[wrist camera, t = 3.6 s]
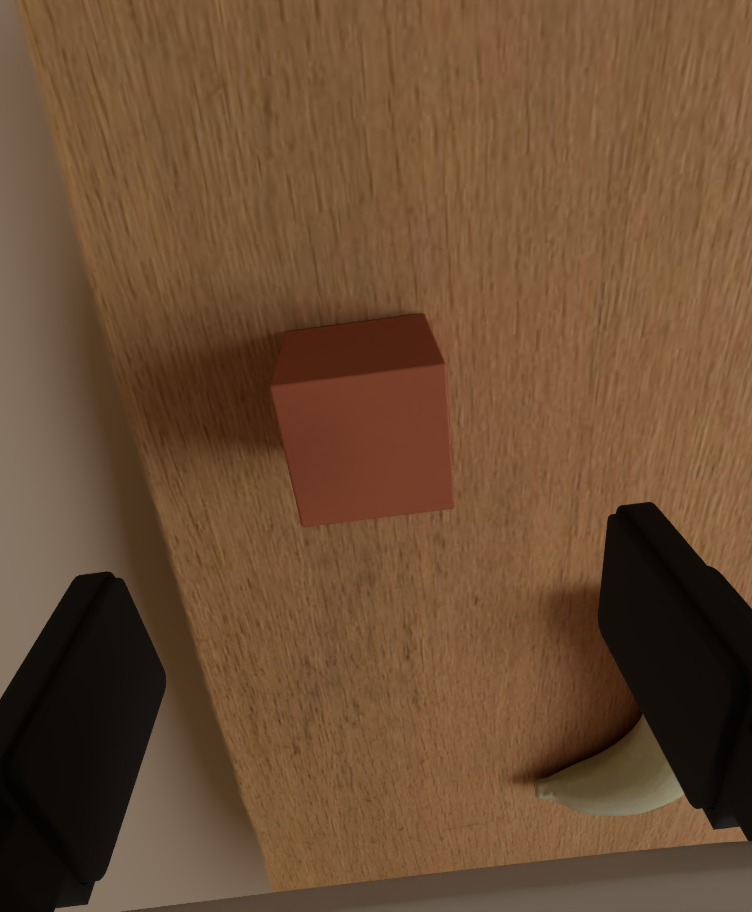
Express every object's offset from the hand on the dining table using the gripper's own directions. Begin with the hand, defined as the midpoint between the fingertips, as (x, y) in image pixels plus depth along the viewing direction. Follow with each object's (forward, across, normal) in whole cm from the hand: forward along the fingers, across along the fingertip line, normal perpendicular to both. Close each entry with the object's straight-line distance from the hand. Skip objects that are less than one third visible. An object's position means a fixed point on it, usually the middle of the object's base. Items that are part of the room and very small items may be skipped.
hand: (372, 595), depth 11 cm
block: (+10, 0, 0) cm, 10 cm away
